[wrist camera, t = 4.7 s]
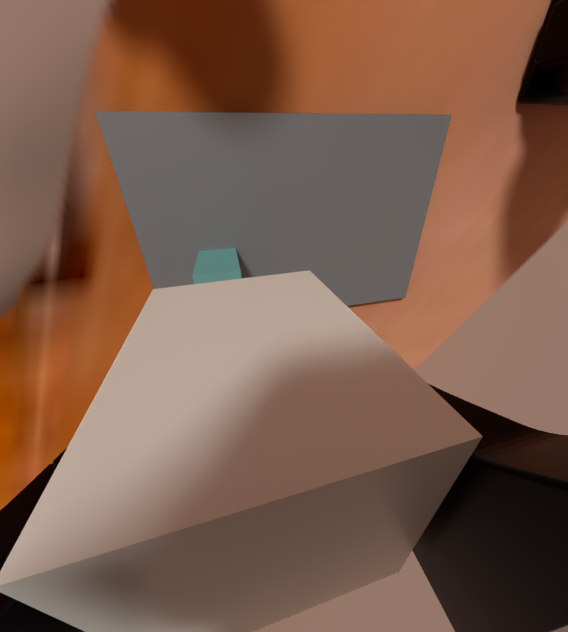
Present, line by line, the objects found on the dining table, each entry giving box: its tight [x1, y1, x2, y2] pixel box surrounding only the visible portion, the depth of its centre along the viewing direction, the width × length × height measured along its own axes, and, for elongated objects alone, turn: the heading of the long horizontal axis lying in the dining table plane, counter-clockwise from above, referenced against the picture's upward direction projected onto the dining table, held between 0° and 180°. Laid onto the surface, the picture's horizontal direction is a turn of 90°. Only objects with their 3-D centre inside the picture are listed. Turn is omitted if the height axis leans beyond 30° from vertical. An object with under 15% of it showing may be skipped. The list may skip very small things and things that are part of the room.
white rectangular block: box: [0, 270, 483, 632], centre depth 7 cm, size 5×5×7 cm
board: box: [95, 111, 451, 306], centre depth 18 cm, size 22×14×1 cm, turn 92°
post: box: [192, 248, 242, 284], centre depth 16 cm, size 3×3×5 cm
